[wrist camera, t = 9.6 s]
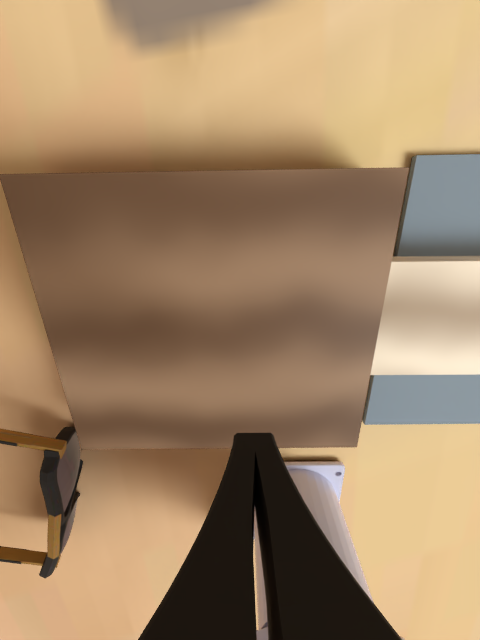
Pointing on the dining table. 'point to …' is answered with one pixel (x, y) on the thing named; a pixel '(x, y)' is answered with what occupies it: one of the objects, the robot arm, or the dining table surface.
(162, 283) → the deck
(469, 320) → the cream rectangular block
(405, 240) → the mat
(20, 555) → the sunglasses
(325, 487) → the robot arm
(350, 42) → the dining table surface
